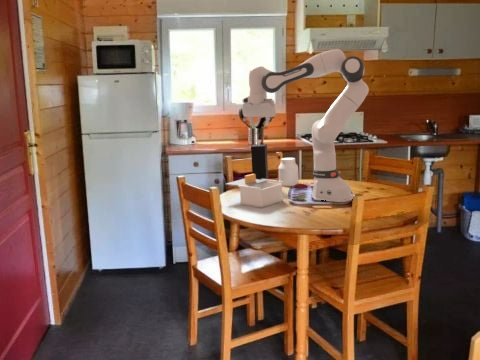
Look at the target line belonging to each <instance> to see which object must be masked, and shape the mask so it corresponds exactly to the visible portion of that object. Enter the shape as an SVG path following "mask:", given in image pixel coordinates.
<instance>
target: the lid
mask: <svg viewBox="0 0 480 360" xmlns="http://www.w3.org/2000/svg"><path fill="white" fill-rule="evenodd" d="M264 182H267V180H259V179H256V174H252V173H251V174H247V175H244V178H242V179H241V178H240V179H238V180H234V181H230V182H227V183H225V185H226V186H232V187H238V185H243V186H253V185H257V184H260V183H264Z"/></svg>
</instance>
